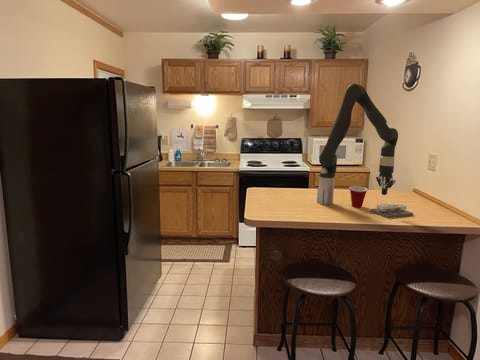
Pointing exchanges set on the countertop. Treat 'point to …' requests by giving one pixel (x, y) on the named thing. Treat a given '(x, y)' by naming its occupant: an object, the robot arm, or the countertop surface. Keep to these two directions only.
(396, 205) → the key
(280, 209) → the countertop surface
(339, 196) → the countertop surface
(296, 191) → the countertop surface
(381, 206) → the key
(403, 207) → the key
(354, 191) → the plastic cup
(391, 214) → the keypad board
